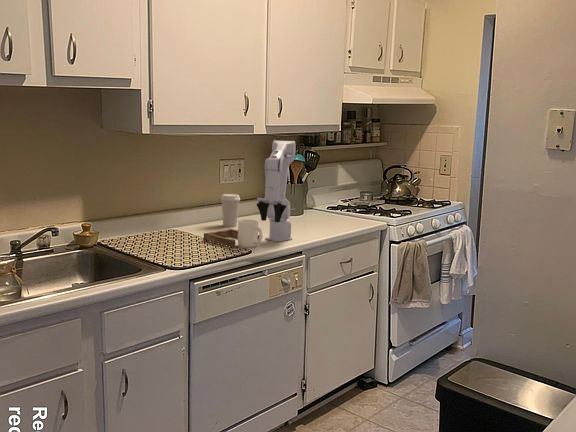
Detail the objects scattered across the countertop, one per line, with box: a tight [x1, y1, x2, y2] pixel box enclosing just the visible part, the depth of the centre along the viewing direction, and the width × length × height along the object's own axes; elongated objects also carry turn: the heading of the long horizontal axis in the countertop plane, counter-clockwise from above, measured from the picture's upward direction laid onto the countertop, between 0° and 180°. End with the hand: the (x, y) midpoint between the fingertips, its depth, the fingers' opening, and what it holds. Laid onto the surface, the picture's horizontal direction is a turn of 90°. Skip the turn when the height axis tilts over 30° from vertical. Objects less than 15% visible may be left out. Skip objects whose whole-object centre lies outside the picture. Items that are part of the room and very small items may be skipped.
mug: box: [237, 218, 264, 248], centre depth 241 cm, size 12×8×10 cm
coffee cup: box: [220, 193, 241, 228], centre depth 282 cm, size 10×10×15 cm
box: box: [203, 228, 259, 248], centre depth 249 cm, size 16×18×3 cm
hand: (270, 221), depth 236 cm, fingers open, 7 cm apart
